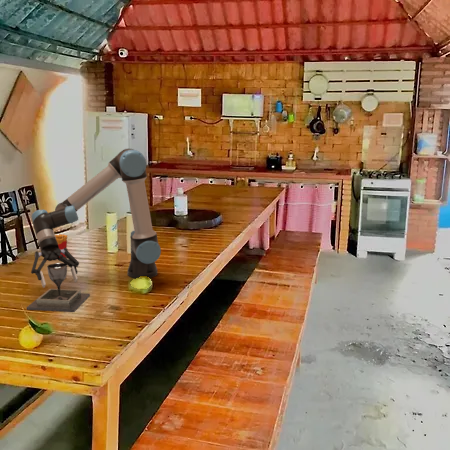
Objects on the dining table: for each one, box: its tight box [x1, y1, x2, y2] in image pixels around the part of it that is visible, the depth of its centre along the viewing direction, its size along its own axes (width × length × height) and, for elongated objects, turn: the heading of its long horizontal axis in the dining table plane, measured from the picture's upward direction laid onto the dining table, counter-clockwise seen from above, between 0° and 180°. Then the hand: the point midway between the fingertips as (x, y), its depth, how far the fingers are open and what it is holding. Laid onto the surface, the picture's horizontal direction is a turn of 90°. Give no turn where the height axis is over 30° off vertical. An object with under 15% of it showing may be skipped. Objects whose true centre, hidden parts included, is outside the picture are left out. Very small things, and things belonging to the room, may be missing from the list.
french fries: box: [55, 233, 68, 258], centre depth 290 cm, size 9×4×13 cm, turn 99°
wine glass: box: [47, 262, 68, 300], centre depth 221 cm, size 8×8×15 cm
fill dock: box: [26, 288, 91, 313], centre depth 221 cm, size 20×20×4 cm
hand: (60, 283), depth 218 cm, fingers open, 13 cm apart
